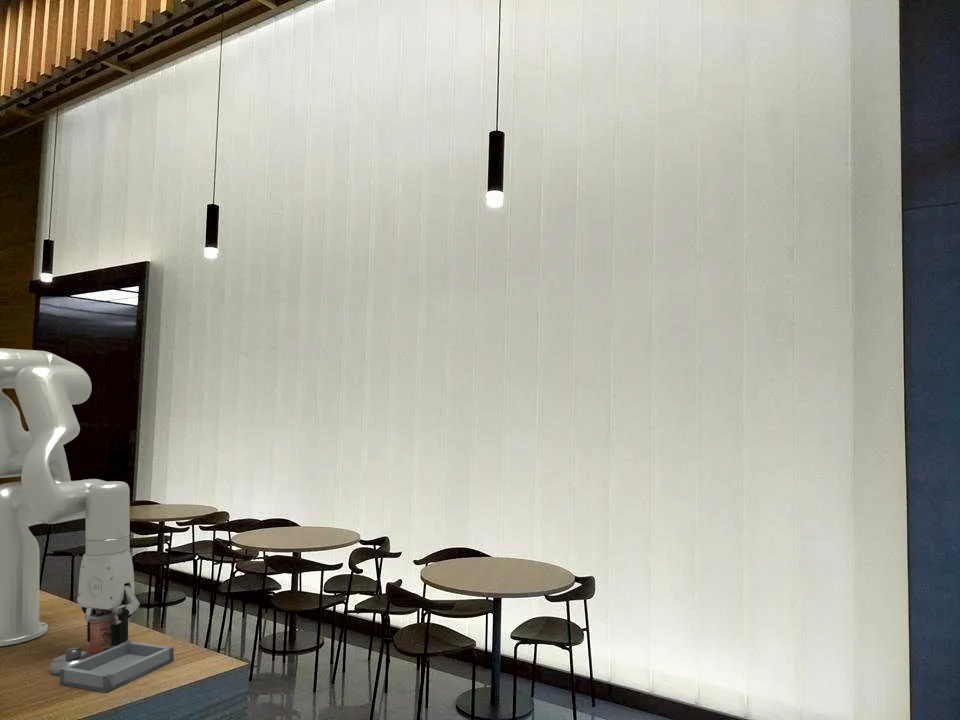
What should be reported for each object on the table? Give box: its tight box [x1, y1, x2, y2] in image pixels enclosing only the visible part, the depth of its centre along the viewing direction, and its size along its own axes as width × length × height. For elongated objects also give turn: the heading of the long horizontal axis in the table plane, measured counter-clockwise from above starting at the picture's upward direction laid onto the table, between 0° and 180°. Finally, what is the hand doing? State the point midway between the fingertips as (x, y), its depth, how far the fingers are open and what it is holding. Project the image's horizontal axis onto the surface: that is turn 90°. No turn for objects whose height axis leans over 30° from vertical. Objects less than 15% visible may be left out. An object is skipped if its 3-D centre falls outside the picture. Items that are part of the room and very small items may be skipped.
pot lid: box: [49, 646, 95, 677], centre depth 124 cm, size 7×7×3 cm
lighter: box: [89, 608, 125, 655], centre depth 132 cm, size 8×3×10 cm, turn 168°
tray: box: [59, 640, 175, 693], centre depth 121 cm, size 11×14×2 cm
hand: (107, 640), depth 131 cm, fingers open, 5 cm apart
